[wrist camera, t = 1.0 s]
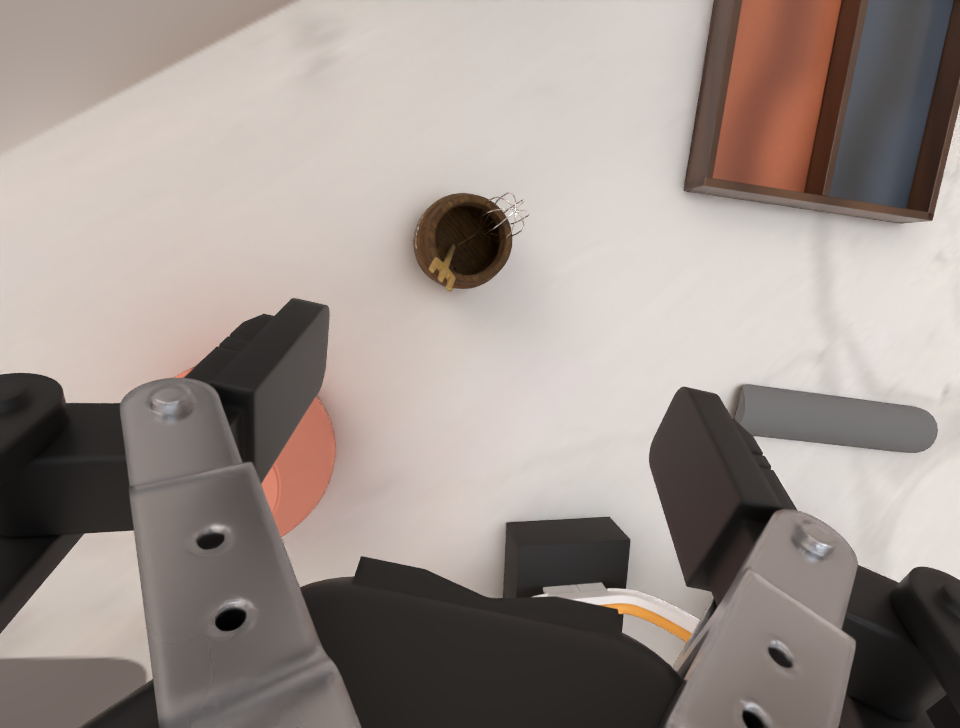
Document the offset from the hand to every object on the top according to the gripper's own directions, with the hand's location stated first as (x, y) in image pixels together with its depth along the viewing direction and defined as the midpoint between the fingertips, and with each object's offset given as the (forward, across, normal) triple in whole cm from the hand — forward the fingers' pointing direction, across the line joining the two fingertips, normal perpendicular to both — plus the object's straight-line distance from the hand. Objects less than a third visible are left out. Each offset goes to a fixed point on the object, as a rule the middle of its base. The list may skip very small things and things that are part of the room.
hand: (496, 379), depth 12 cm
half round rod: (+29, -31, +15) cm, 45 cm away
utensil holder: (+26, +3, +6) cm, 27 cm away
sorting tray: (+37, -22, -9) cm, 44 cm away
